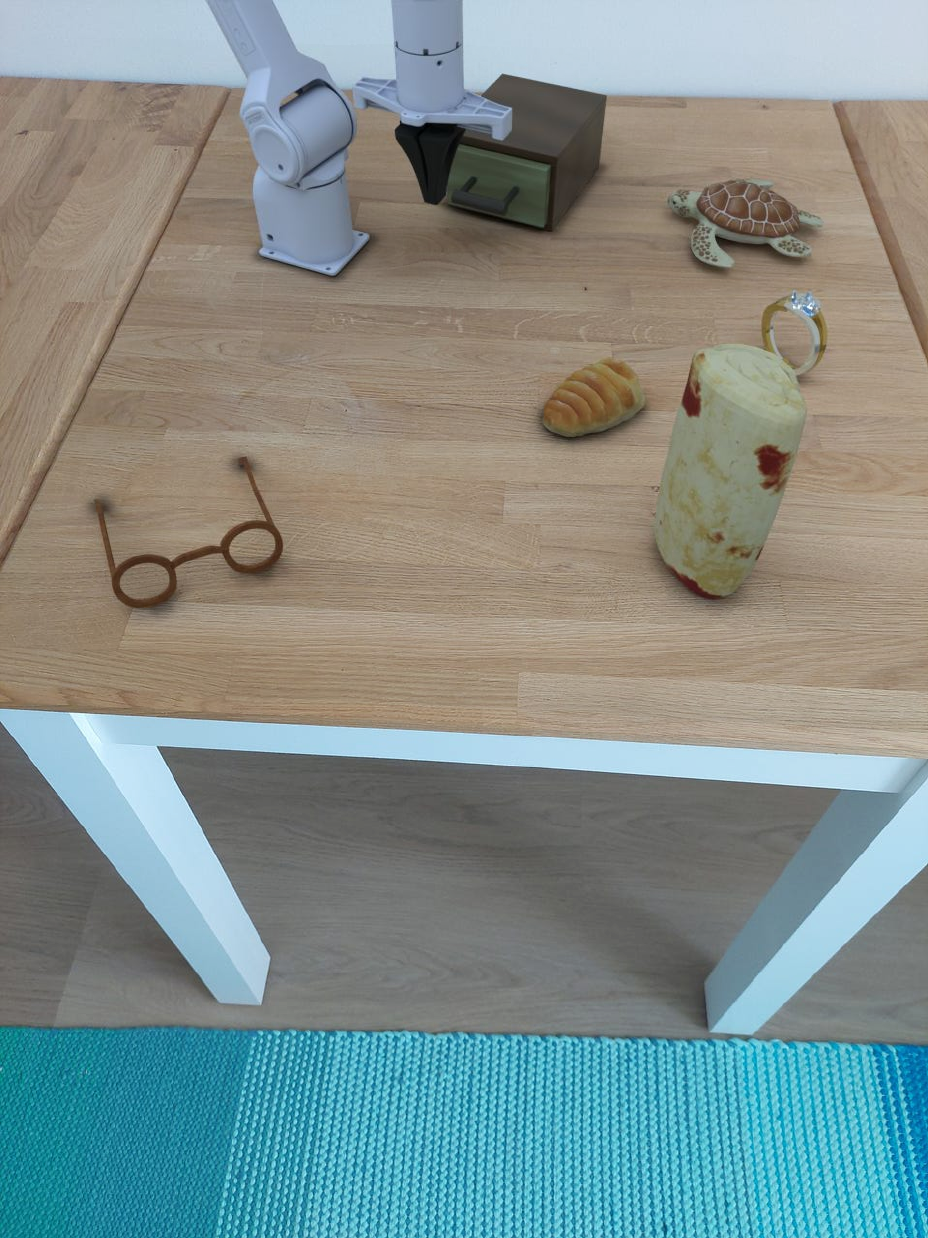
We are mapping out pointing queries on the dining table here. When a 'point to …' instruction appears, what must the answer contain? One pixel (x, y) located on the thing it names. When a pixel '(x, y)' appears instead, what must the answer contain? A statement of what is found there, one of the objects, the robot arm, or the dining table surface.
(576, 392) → the pastry
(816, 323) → the ring
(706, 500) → the food model
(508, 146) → the cabinet
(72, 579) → the dining table surface
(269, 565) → the glasses
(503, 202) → the drawer
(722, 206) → the decorative turtle
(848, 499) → the dining table surface
